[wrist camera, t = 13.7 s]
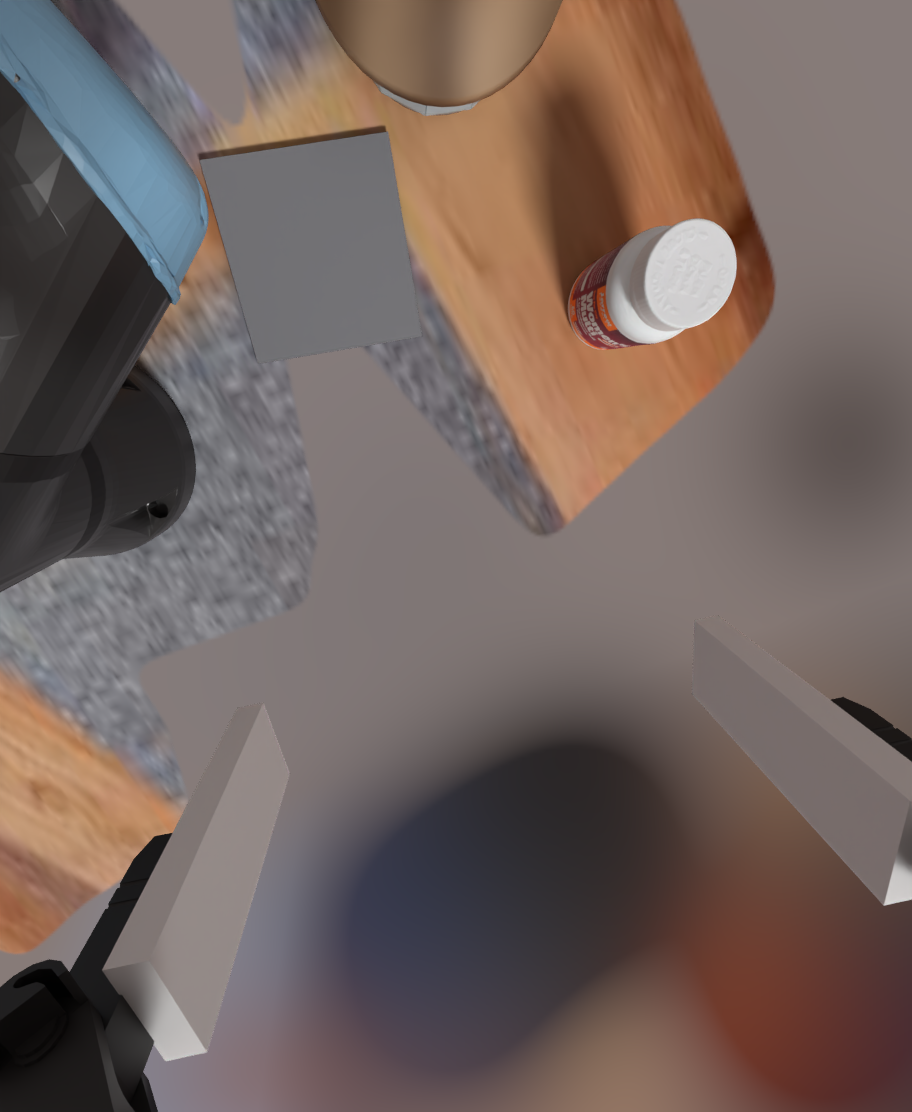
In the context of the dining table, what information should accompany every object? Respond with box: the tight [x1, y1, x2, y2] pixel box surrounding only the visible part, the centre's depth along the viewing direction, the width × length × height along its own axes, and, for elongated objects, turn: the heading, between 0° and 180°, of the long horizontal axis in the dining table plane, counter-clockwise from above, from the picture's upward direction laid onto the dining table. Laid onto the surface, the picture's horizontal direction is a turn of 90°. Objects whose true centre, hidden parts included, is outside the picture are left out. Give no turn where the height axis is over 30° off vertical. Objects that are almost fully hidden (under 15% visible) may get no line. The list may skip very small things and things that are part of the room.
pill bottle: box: [568, 219, 736, 350], centre depth 30 cm, size 6×6×11 cm
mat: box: [200, 132, 422, 364], centre depth 32 cm, size 12×12×1 cm
